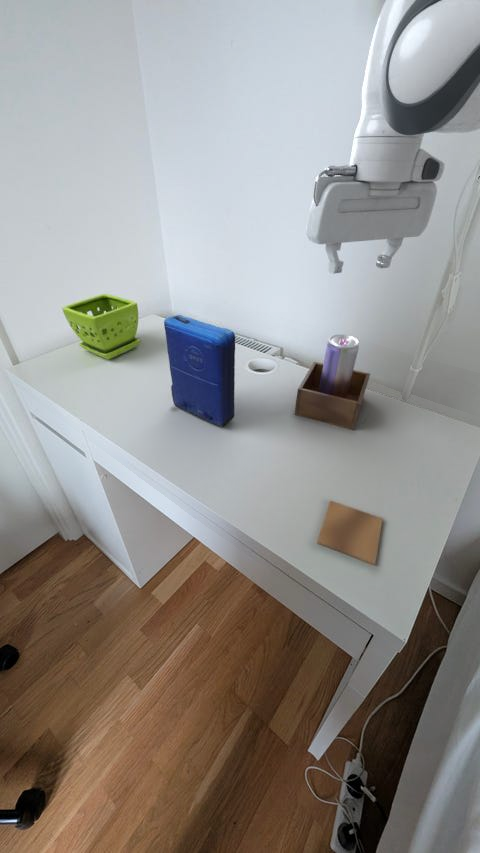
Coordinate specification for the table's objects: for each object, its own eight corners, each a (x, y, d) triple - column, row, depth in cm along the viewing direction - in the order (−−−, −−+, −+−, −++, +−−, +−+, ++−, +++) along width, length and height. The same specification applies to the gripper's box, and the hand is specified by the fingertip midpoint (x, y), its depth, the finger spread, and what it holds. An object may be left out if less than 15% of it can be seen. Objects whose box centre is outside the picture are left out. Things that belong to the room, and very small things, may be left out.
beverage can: (313, 408, 73) (325, 344, 63) (319, 394, 77) (331, 331, 67) (341, 415, 71) (358, 349, 61) (346, 400, 75) (361, 336, 66)
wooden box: (363, 398, 77) (370, 373, 72) (353, 430, 68) (360, 404, 64) (310, 385, 81) (313, 361, 76) (294, 414, 72) (297, 388, 68)
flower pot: (147, 346, 96) (138, 302, 88) (106, 366, 87) (93, 319, 79) (115, 334, 102) (104, 291, 94) (74, 351, 93) (59, 306, 85)
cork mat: (381, 520, 51) (382, 518, 51) (374, 565, 46) (375, 563, 46) (329, 502, 54) (330, 500, 54) (317, 543, 48) (317, 541, 48)
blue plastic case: (170, 407, 74) (155, 318, 61) (186, 396, 77) (176, 309, 64) (222, 432, 67) (218, 338, 54) (237, 419, 71) (237, 327, 58)
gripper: (329, 166, 42) (313, 281, 51) (454, 165, 48) (420, 269, 57) (305, 164, 47) (294, 270, 56) (421, 163, 52) (395, 260, 61)
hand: (358, 269), depth 56 cm, fingers open, 8 cm apart
